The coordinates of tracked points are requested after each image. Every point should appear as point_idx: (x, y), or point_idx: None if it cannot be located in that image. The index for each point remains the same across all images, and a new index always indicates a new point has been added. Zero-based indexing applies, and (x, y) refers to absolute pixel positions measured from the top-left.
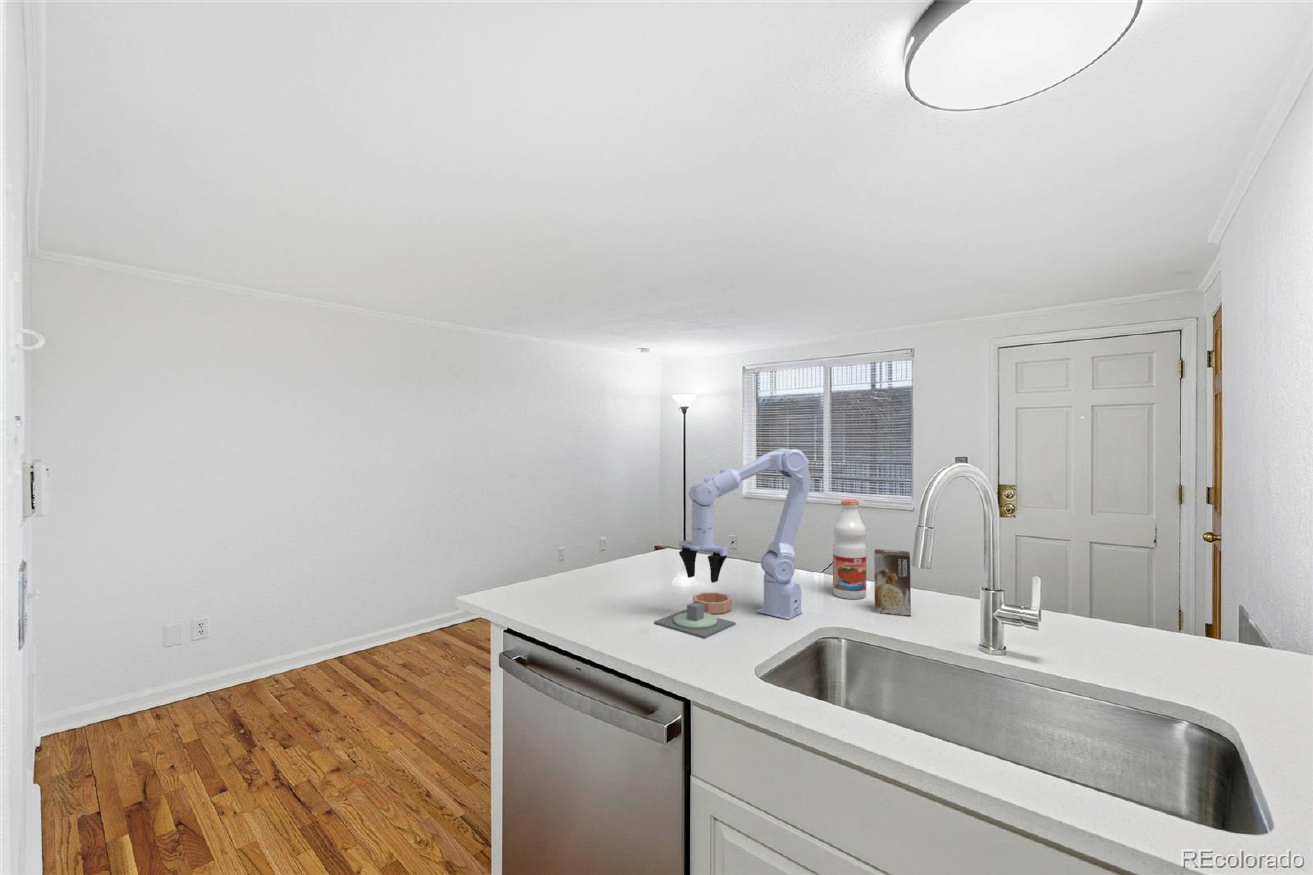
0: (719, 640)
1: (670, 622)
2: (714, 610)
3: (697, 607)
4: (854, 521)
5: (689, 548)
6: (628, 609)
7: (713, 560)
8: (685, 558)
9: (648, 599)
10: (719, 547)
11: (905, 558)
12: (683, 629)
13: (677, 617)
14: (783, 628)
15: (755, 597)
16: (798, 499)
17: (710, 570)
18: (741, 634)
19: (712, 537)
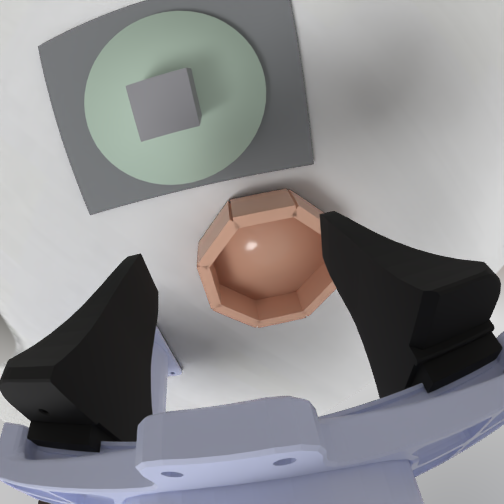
0: (10, 83)
1: (230, 11)
2: (214, 226)
3: (127, 92)
4: None
5: (431, 391)
6: (452, 40)
7: (22, 358)
8: (402, 270)
9: (469, 160)
10: (52, 497)
11: (41, 501)
12: (131, 9)
13: (231, 46)
14: (28, 290)
15: (259, 377)
16: None
17: (111, 297)
18: (19, 172)
19: None
